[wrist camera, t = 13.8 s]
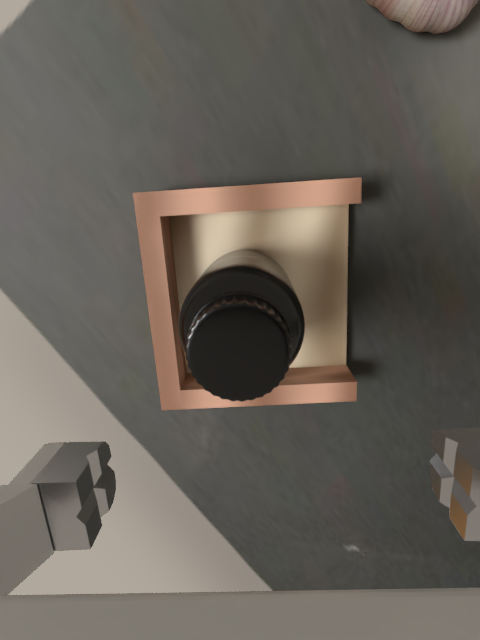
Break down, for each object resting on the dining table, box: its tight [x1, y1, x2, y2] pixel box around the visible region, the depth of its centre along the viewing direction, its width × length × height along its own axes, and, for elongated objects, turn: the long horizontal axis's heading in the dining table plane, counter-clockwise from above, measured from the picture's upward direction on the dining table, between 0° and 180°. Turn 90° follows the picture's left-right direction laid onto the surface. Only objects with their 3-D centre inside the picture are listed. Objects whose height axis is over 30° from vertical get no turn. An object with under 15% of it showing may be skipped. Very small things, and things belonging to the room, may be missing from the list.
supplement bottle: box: [178, 250, 305, 402], centre depth 22 cm, size 7×7×12 cm
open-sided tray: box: [133, 177, 362, 410], centre depth 27 cm, size 14×15×4 cm
